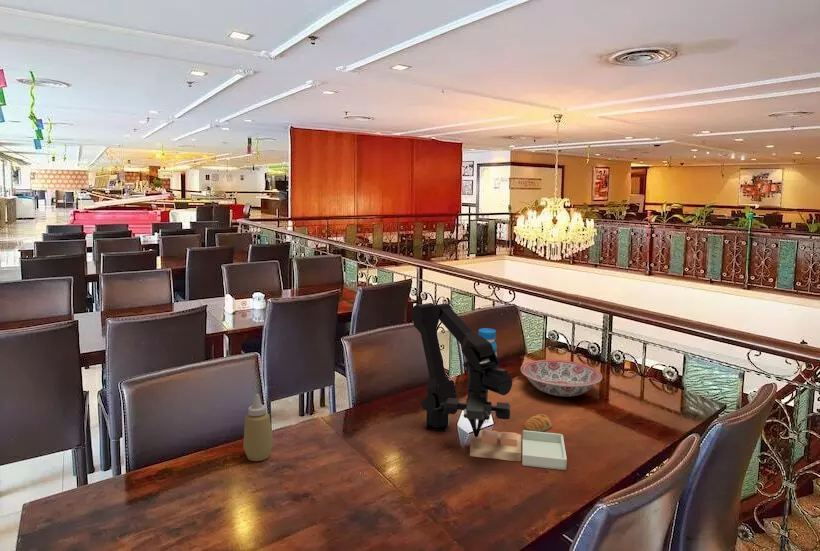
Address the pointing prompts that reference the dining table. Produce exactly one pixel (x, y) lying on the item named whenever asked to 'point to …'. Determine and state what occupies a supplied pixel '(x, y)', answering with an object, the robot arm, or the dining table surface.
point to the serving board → (495, 449)
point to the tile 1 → (489, 436)
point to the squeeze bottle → (257, 432)
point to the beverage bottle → (489, 339)
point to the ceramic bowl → (561, 376)
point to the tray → (544, 450)
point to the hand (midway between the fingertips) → (476, 436)
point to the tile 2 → (508, 438)
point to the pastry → (537, 423)
